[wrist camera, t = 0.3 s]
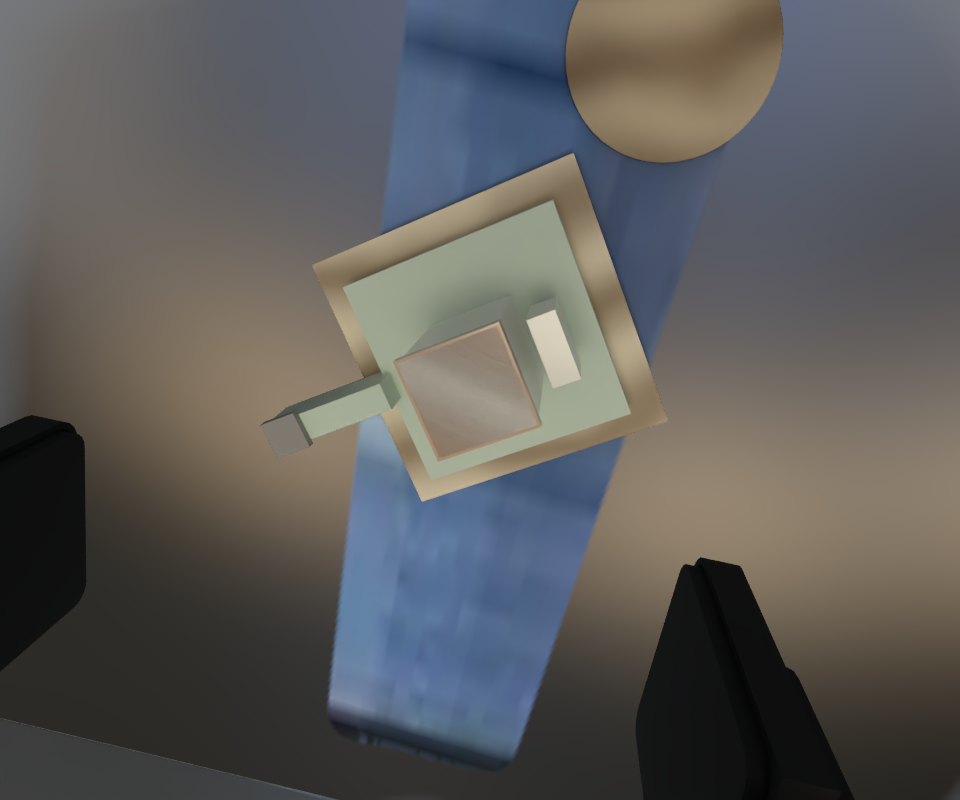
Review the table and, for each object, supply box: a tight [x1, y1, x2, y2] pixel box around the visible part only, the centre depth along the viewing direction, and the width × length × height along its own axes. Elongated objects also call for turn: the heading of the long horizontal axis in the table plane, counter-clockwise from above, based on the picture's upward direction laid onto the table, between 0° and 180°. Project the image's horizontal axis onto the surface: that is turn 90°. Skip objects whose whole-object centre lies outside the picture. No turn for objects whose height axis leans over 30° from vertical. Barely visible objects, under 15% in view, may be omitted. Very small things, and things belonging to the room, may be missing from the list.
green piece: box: [260, 199, 631, 480], centre depth 44 cm, size 14×22×5 cm, turn 113°
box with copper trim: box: [393, 294, 581, 462], centre depth 39 cm, size 6×8×9 cm
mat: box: [566, 0, 783, 163], centre depth 40 cm, size 12×12×1 cm
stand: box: [312, 153, 668, 501], centre depth 46 cm, size 18×18×2 cm
